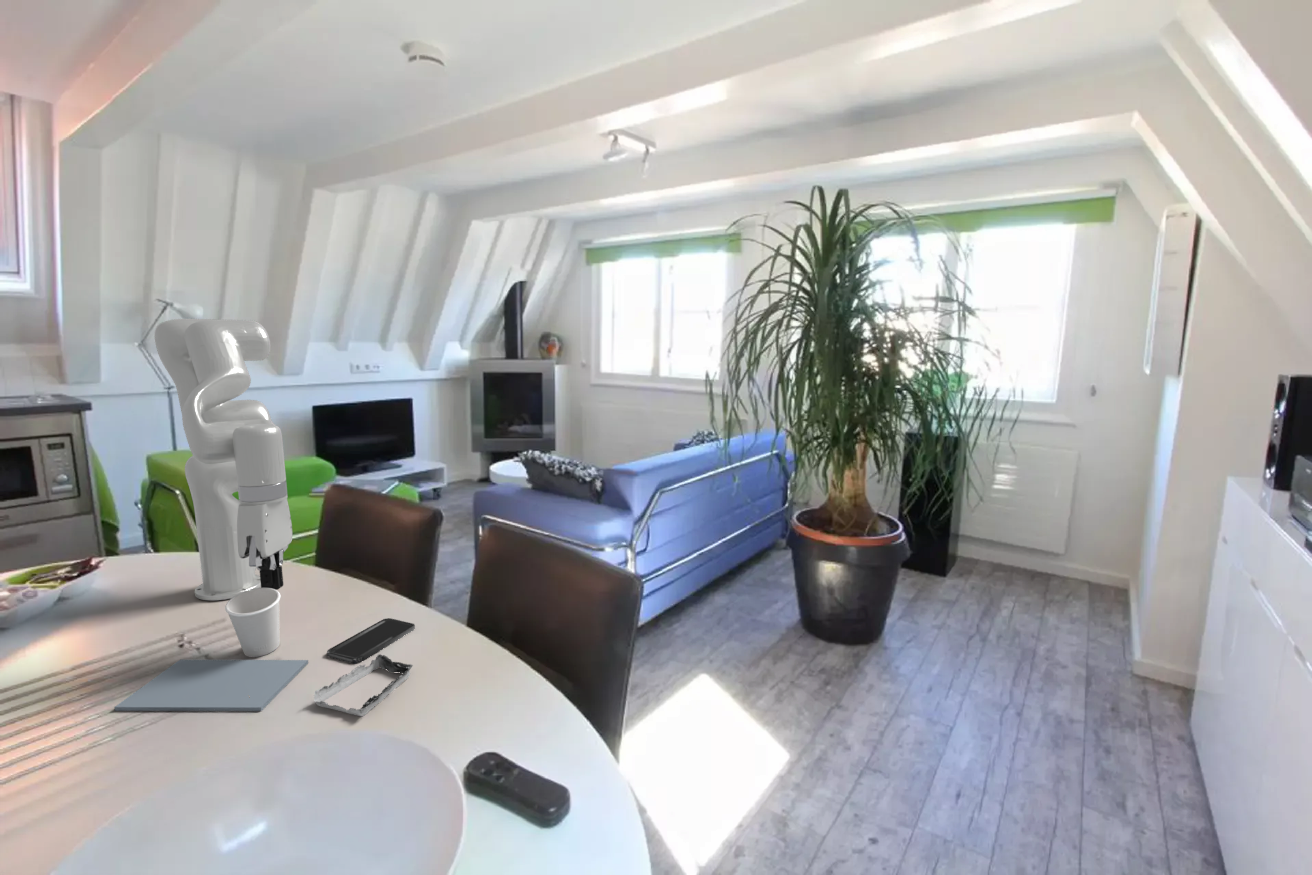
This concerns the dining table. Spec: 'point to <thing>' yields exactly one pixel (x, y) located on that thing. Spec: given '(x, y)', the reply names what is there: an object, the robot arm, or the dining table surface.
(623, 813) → the dining table surface
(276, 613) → the dixie cup
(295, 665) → the slate mat
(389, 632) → the phone
